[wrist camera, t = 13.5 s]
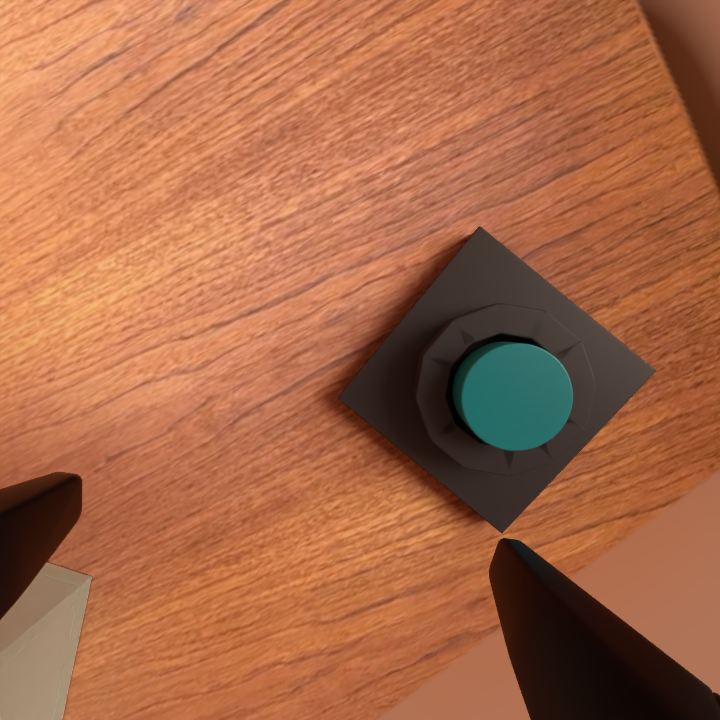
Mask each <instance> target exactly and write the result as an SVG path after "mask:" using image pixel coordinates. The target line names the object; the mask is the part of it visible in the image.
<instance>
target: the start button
mask: <svg viewBox="0 0 720 720" xmlns="http://www.w3.org/2000/svg"><path fill="white" fill-rule="evenodd" d="M453 401H454V404H455V407H456V409H457V412H458V413H459V415H460V417H461V418H462V419H463V421H464V422H465V423H466V424H467V425H468V427H469V428H470V429H471V430H472V431H473V432H474V434H476V435H477V436H478V437H479V438H480V439H481V440H483V441H484V442H485V443H487V444H489V445H491V446H493V447H496V448H499V449H503V450H509V451H522V450H528V449H532V448H535V447H538V446H540V445H542V444H544V443H546V442H548V441H549V440H550V439H552V438H553V437H554V436H555V435H556V434H557V433H558V432H559V431H560V430H561V429H562V428H563V426H564V425H565V423H566V421H567V419H568V417H569V415H570V412H571V408H572V403H573V390H572V384H571V381H570V378H569V375H568V373H567V371H566V370H565V368H564V366H563V365H562V364H561V363H560V361H559V360H558V359H557V358H556V357H555V356H553V355H552V354H551V353H549V352H548V351H546V350H544V349H542V348H540V347H537V346H534V345H530V344H523V343H513V342H495V343H490V344H487V345H484V346H482V347H480V348H478V349H476V350H475V351H473V352H472V353H471V354H469V355H468V356H467V357H466V358H465V359H464V360H463V362H462V363H461V364H460V366H459V368H458V370H457V372H456V374H455V377H454V381H453Z"/></svg>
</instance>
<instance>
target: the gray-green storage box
mask: <svg viewBox="0 0 720 720" xmlns="http://www.w3.org/2000/svg"><path fill="white" fill-rule="evenodd" d="M91 580H92V576H88V575H85V574H82V573H79V572H76V571H73V570H70V569H67V568H64V567H61V566H58V565H54V564H51V563H48V562H47V563H46V564H45V565H44V567H43V568H42V569H41V571H40V572H39V573H38V575H37V576H36V577H35V579H34V580H33V581H32V583H31V584H30V585H29V586H28V588H27V589H26V590H25V592H24V593H23V594H22V595H21V597H20V598H19V599H18V600H17V601H16V603H15V604H14V605H13V606H12V607H11V608H10V610H9V611H8V612H7V613H6V614H5V615H4V617H3V618H2V619H1V620H0V720H63V715H64V710H65V705H66V700H67V696H68V691H69V686H70V681H71V676H72V672H73V667H74V662H75V657H76V652H77V648H78V643H79V638H80V633H81V628H82V624H83V619H84V614H85V609H86V604H87V600H88V595H89V590H90V585H91Z"/></svg>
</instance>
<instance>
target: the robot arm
mask: <svg viewBox="0 0 720 720" xmlns="http://www.w3.org/2000/svg"><path fill="white" fill-rule="evenodd" d="M81 511H82V479H81V477H80V476H79V475H77V474H71V473H65V472H55V473H51V474H48V475H45V476H42V477H38V478H35V479H32V480H29V481H26V482H22V483H19V484H16V485H13V486H9V487H6V488H3V489H0V620H1V619H2V618H3V617H4V615H5V614H6V613H7V612H8V611H9V610H10V608H11V607H12V606H13V605H14V604H15V603H16V601H17V600H18V599H19V598H20V597H21V595H22V594H23V593H24V592H25V590H26V589H27V588H28V586H29V585H30V584H31V583H32V581H33V580H34V579H35V577H36V576H37V575H38V573H39V572H40V571H41V569H42V568H43V567H44V565H45V564H46V563H47V561H48V560H49V559H50V557H51V556H52V555H53V553H54V552H55V551H56V549H57V548H58V547H59V545H60V544H61V542H62V541H63V540H64V538H65V537H66V536H67V534H68V533H69V532H70V530H71V529H72V528H73V526H74V525H75V524H76V522H77V521H78V519H79V517H80V514H81ZM489 579H490V583H491V587H492V591H493V595H494V599H495V603H496V607H497V611H498V615H499V619H500V623H501V627H502V631H503V634H504V639H505V643H506V646H507V649H508V653H509V657H510V660H511V663H512V666H513V669H514V673H515V675H516V678H517V681H518V684H519V687H520V690H521V693H522V696H523V698H524V701H525V704H526V707H527V710H528V713H529V716H530V719H531V720H720V695H718V694H717V693H712V691H711V689H710V688H709V687H708V686H707V685H705V684H704V683H703V682H702V681H700V680H699V679H698V678H696V677H695V676H694V675H693V674H691V673H690V672H689V671H687V670H686V669H685V668H684V667H682V666H681V665H680V664H678V663H677V662H676V661H675V660H673V659H672V658H671V657H669V656H668V655H666V654H665V653H664V652H663V651H662V650H660V649H659V648H658V647H656V646H655V645H654V644H653V643H651V642H650V641H649V640H647V639H646V638H645V637H643V636H642V635H641V634H640V633H638V632H637V631H636V630H635V629H633V628H632V627H631V626H629V625H628V624H627V623H626V622H624V621H623V620H622V619H620V618H619V617H618V616H617V615H615V614H614V613H613V612H611V611H610V610H609V609H607V608H606V607H605V606H604V605H602V604H601V603H600V602H598V601H597V600H596V599H595V598H593V597H592V596H591V595H589V594H588V593H587V592H586V591H584V590H583V589H582V588H580V587H579V586H578V585H577V584H575V583H574V582H573V581H571V580H570V579H569V578H568V577H566V576H565V575H564V574H562V573H561V572H560V571H559V570H557V569H556V568H555V567H553V566H552V565H551V564H550V563H548V562H547V561H546V560H544V559H543V558H542V557H540V556H539V555H538V554H537V553H535V552H534V551H533V550H531V549H530V548H529V547H528V546H526V545H525V544H524V543H522V542H521V541H519V540H514V539H507V538H503V539H501V540H500V541H499V542H498V544H497V547H496V550H495V553H494V556H493V559H492V562H491V565H490V568H489Z"/></svg>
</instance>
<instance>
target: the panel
mask: <svg viewBox="0 0 720 720" xmlns="http://www.w3.org/2000/svg"><path fill="white" fill-rule="evenodd" d="M495 342H513V343H523V344H530V345H534V346H537V347H540V348H542V349H544V350H546V351H548V352H549V353H551V354H552V355H553V356H555V357H556V358H557V359H558V360H559V361H560V363H561V364H562V365H563V366H564V368H565V370H566V371H567V373H568V375H569V378H570V381H571V384H572V390H573V403H572V408H571V412H570V415H569V417H568V419H567V421H566V423H565V425H564V426H563V428H562V429H561V430H560V431H559V432H558V433H557V434H556V435H555V436H554V437H553V438H552V439H550V440H549V441H548V442H546V443H544V444H542V445H540V446H538V447H535V448H532V449H528V450H522V451H509V450H503V449H499V448H496V447H493V446H491V445H489V444H487V443H485V442H484V441H483V440H481V439H480V438H479V437H478V436H477V435H476V434H474V432H473V431H472V430H471V429H470V428H469V427H468V425H467V424H466V423H465V422H464V421H463V419H462V418H461V417H460V415H459V413H458V412H457V409H456V407H455V404H454V401H453V381H454V377H455V374H456V372H457V370H458V368H459V366H460V364H461V363H462V362H463V360H464V359H465V358H466V357H467V356H468V355H469V354H471V353H472V352H473V351H475V350H476V349H478V348H480V347H482V346H484V345H487V344H490V343H495ZM655 372H656V370H655V369H654V368H652V367H651V366H650V365H649V364H648V363H646V362H645V361H644V360H643V359H641V358H640V357H639V356H638V355H637V354H635V353H634V352H633V351H632V350H630V349H629V348H628V347H627V346H626V345H624V344H623V343H622V342H621V341H619V340H618V339H617V338H616V337H615V336H613V335H612V334H611V333H610V332H609V331H607V330H606V329H605V328H604V327H602V326H601V325H600V324H599V323H598V322H596V321H595V320H594V319H593V318H591V317H590V316H589V315H588V314H587V313H585V312H584V311H583V310H582V309H580V308H579V307H578V306H577V305H576V304H574V303H573V302H572V301H571V300H569V299H568V298H567V297H566V296H565V295H563V294H562V293H561V292H560V291H558V290H557V289H556V288H555V287H554V286H552V285H551V284H550V283H549V282H547V281H546V280H545V279H544V278H543V277H541V276H540V275H539V274H538V273H537V272H535V271H534V270H533V269H532V268H530V267H529V266H528V265H527V264H526V263H524V262H523V261H522V260H521V259H519V258H518V257H517V256H516V255H515V254H513V253H512V252H511V251H510V250H508V249H507V248H506V247H505V246H504V245H502V244H501V243H500V242H499V241H497V240H496V239H495V238H494V237H493V236H491V235H490V234H489V233H488V232H486V231H485V230H484V229H483V228H482V227H480V226H479V227H478V228H477V229H476V230H475V232H474V233H473V234H472V235H471V236H470V237H469V239H468V240H467V241H466V242H465V243H464V245H463V246H462V247H461V248H460V250H459V251H458V252H457V253H456V254H455V256H454V257H453V258H452V259H451V260H450V262H449V263H448V264H447V265H446V266H445V268H444V269H443V270H442V271H441V273H440V274H439V275H438V276H437V277H436V279H435V280H434V281H433V282H432V283H431V285H430V286H429V287H428V288H427V289H426V291H425V292H424V293H423V294H422V296H421V297H420V298H419V299H418V300H417V302H416V303H415V304H414V305H413V306H412V308H411V309H410V310H409V311H408V312H407V314H406V315H405V316H404V317H403V319H402V320H401V321H400V322H399V323H398V325H397V326H396V327H395V328H394V329H393V331H392V332H391V333H390V334H389V335H388V337H387V338H386V339H385V340H384V342H383V343H382V344H381V345H380V346H379V348H378V349H377V350H376V351H375V352H374V354H373V355H372V356H371V357H370V358H369V360H368V361H367V362H366V363H365V365H364V366H363V367H362V368H361V369H360V371H359V372H358V373H357V374H356V375H355V377H354V378H353V379H352V380H351V381H350V383H349V384H348V385H347V386H346V388H345V389H344V390H343V391H342V392H341V394H340V395H339V396H338V399H339V400H341V401H342V402H343V403H344V404H345V405H347V406H348V407H349V408H350V409H351V410H353V411H354V412H355V413H356V414H358V415H359V416H360V417H361V418H362V419H364V420H365V421H366V422H367V423H368V424H370V425H371V426H372V427H373V428H375V429H376V430H377V431H378V432H379V433H381V434H382V435H383V436H384V437H385V438H387V439H388V440H389V441H390V442H392V443H393V444H394V445H395V446H396V447H398V448H399V449H400V450H401V451H402V452H404V453H405V454H406V455H407V456H408V457H410V458H411V459H412V460H413V461H415V462H416V463H417V464H418V465H419V466H421V467H422V468H423V469H424V470H425V471H427V472H428V473H429V474H430V475H432V476H433V477H434V478H435V479H436V480H438V481H439V482H440V483H441V484H442V485H444V486H445V487H446V488H447V489H448V490H450V491H451V492H452V493H453V494H455V495H456V496H457V497H458V498H459V499H461V500H462V501H463V502H464V503H465V504H467V505H468V506H469V507H470V508H472V509H473V510H474V511H475V512H476V513H478V514H479V515H480V516H481V517H482V518H484V519H485V520H486V521H487V522H489V523H490V524H491V525H492V526H493V527H495V528H496V529H497V530H498V531H499V532H501V533H503V532H504V531H505V530H506V529H507V528H508V527H509V526H510V525H511V523H512V522H513V521H514V520H515V519H516V518H517V517H518V516H519V515H520V514H521V513H522V512H523V511H524V510H525V509H526V508H527V507H528V506H529V504H530V503H531V502H532V501H533V500H534V499H535V498H536V497H537V496H538V495H539V494H540V493H541V492H542V491H543V490H544V489H545V488H546V487H547V486H548V484H549V483H550V482H551V481H552V480H553V479H554V478H555V477H556V476H557V475H558V474H559V473H560V472H561V471H562V470H563V469H564V468H565V467H566V466H567V464H568V463H569V462H570V461H571V460H572V459H573V458H574V457H575V456H576V455H577V454H578V453H579V452H580V451H581V450H582V449H583V448H584V447H585V445H586V444H587V443H588V442H589V441H590V440H591V439H592V438H593V437H594V436H595V435H596V434H597V433H598V432H599V431H600V430H601V429H602V428H603V427H604V425H605V424H606V423H607V422H608V421H609V420H610V419H611V418H612V417H613V416H614V415H615V414H616V413H617V412H618V411H619V410H620V409H621V408H622V406H623V405H624V404H625V403H626V402H627V401H628V400H629V399H630V398H631V397H632V396H633V395H634V394H635V393H636V392H637V391H638V390H639V389H640V388H641V386H642V385H643V384H644V383H645V382H646V381H647V380H648V379H649V378H650V377H651V376H652V375H653V374H654V373H655Z"/></svg>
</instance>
